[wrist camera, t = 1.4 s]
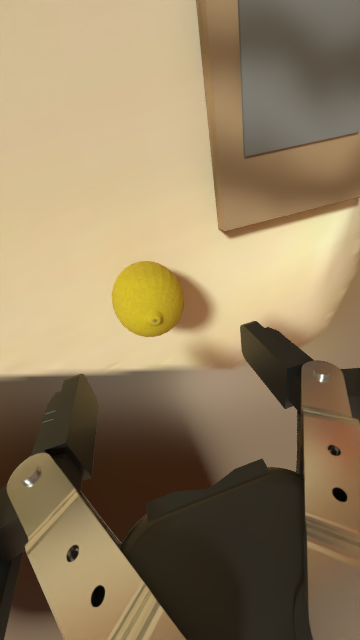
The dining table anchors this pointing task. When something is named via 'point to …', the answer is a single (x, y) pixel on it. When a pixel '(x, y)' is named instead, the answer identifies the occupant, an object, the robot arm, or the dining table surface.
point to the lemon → (147, 299)
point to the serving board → (281, 105)
